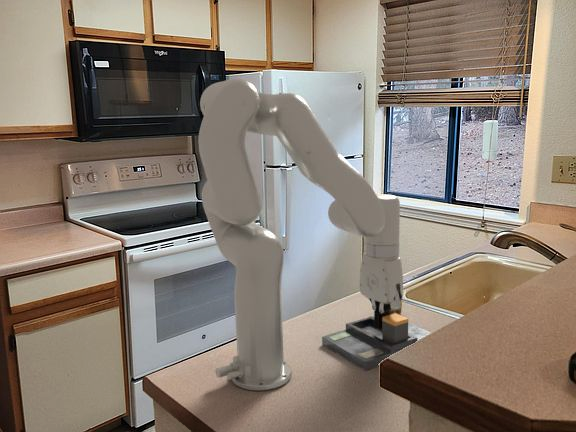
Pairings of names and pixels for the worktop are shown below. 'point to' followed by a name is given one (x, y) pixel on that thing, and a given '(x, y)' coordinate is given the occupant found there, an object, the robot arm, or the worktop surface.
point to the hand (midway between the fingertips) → (381, 326)
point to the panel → (368, 343)
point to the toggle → (394, 328)
